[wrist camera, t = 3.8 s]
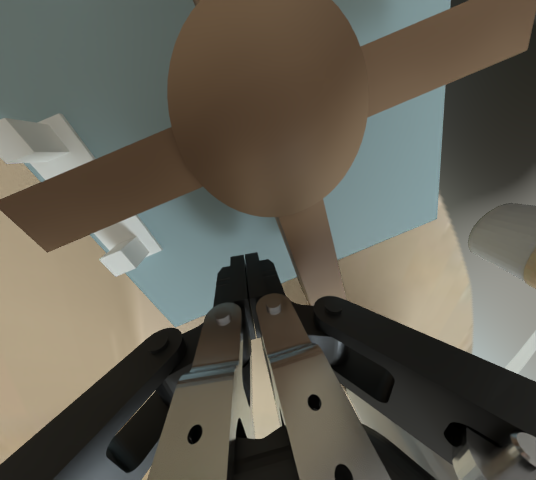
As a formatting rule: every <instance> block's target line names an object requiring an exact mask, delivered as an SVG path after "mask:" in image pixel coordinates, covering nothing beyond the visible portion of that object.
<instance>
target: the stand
mask: <svg viewBox="0 0 536 480" xmlns="http://www.w3.org/2000/svg"><path fill="white" fill-rule="evenodd" d="M332 1H333V2H334V3H335V4H336V5H337V6H338V7H339V8H340V10H341V11H342V13H343V14H344V15H345V17H346V18H347V20H348V21H349V23H350V25H351V27H352V29H353V30H354V32H355V34H356V36H357V39H358V42H359V44H360V46H363V45H365V44H368V43H370V42H372V41H375V40H377V39H379V38H382V37H384V36H386V35H389V34H391V33H393V32H396V31H398V30H401V29H403V28H405V27H408V26H410V25H412V24H415V23H417V22H419V21H422V20H424V19H426V18H429V17H431V16H433V15H436V14H438V13H441V12H443V11H445V10H448V9H450V2H451V0H332ZM194 8H195V5H194V2H193V0H0V158H1V159H2V160H3V161H4V162H5V163H6V164H16V163H24V164H25V165H26V166H27V167H28V169H29V170H30V171H31V172H32V173H33V174H34V175H35V176H36V177H37V178H38V179H39V180H40V182H43V181H45V180H47V179H50V178H52V177H55V176H57V175H59V174H62V173H64V172H66V171H69V170H71V169H73V168H76V167H78V166H80V165H83V164H85V163H87V162H90V161H92V160H95V159H97V158H99V157H102V156H104V155H106V154H109V153H111V152H113V151H116V150H118V149H120V148H123V147H125V146H127V145H130V144H132V143H135V142H137V141H139V140H142V139H144V138H146V137H149V136H151V135H153V134H156V133H158V132H160V131H163V130H165V129H167V128H170V127H171V122H170V117H169V110H168V100H167V81H168V73H169V65H170V60H171V56H172V52H173V49H174V45H175V42H176V40H177V38H178V35H179V33H180V31H181V28H182V26H183V24H184V23H185V21H186V19H187V18H188V16H189V15H190V13H191V11H192V10H193V9H194ZM444 97H445V85H444V86H441V87H439V88H437V89H434V90H432V91H429V92H427V93H425V94H422V95H420V96H418V97H415V98H413V99H410V100H408V101H406V102H403V103H401V104H399V105H396V106H394V107H391V108H389V109H387V110H384V111H382V112H380V113H377V114H375V115H372V116H370V117H368V118H367V123H366V128H365V132H364V136H363V140H362V143H361V145H360V148H359V151H358V153H357V155H356V157H355V159H354V161H353V163H352V165H351V167H350V169H349V170H348V172H347V173H346V175H345V176H344V178H343V179H342V180H341V181H340V183H339V184H338V185H337V186H336V187H335V188H334V189H333V190H332V191H331V192H330V193H329V194H328V195H327V196H326V197H324V198H323V200H324V205H325V209H326V213H327V217H328V222H329V226H330V230H331V235H332V239H333V243H334V247H335V252H336V256H337V260H339V259H341V258H344V257H346V256H349V255H351V254H353V253H356V252H358V251H361V250H363V249H365V248H368V247H370V246H373V245H375V244H377V243H380V242H382V241H385V240H387V239H390V238H392V237H394V236H397V235H399V234H402V233H404V232H406V231H409V230H411V229H414V228H416V227H419V226H421V225H423V224H426V223H428V222H431V221H433V220H435V219H437V210H438V194H439V178H440V162H441V146H442V129H443V115H444V99H445V98H444ZM90 236H91V237H92V238H93V239H94V240H95V241H96V242H97V243H98V244H99V245H100V246H101V248H102V249H103V250H104V251H105V252H106V254H105V255H104V256H102V257H101V258H100V259H99V260H100V261H101V262H102V263H103V264H104V265H105V266H106V267H107V269H108V270H109V271H110V272H111V273H112V274H113V275H114V276H115V277H116V276H119V275H121V274H124V273H125V274H126V275H127V276H128V277H129V278H130V279H131V280H132V281H133V282H134V283H135V284H136V285H137V287H138V288H139V289H140V290H141V291H142V292H143V293H144V294H145V295H146V296H147V297H148V298H149V299H150V301H151V302H152V303H153V304H154V305H155V306H156V307H157V308H158V309H159V310H160V311H161V312H162V314H163V315H164V316H165V317H166V318H167V319H168V320H169V321H170V322H171V323H172V324H173V325H174V327H177V326H180V325H182V324H184V323H187V322H189V321H192V320H194V319H196V318H199V317H201V316H204V315H206V314H207V313H208V312H209V311H210V310H211V309H212V308H213V304H214V296H215V289H216V281H217V274H218V272H219V271H220V270H221V268H222V267H227V266H230V257H232V256H238V255H244V259H245V254H249V253H255V252H258V257H259V261H260V260H266V259H269V260H270V261H271V262H273V263H274V266H275V268H276V271H277V274H278V277H279V279H280V282H281V283H283V282H286V281H288V280H291V279H293V278H295V277H297V275H296V272H295V269H294V267H293V264H292V261H291V259H290V256H289V253H288V251H287V248H286V246H285V243H284V240H283V238H282V235H281V232H280V230H279V227H278V224H277V222H276V219H275V217H259V216H253V215H249V214H246V213H242V212H239V211H237V210H235V209H233V208H231V207H229V206H227V205H225V204H224V203H222V202H220V201H219V200H218V199H216V198H215V197H214V196H213V195H211V194H210V193H209V192H208V191H207V190H206V189H205V188H204V187H201V188H199V189H197V190H194V191H192V192H190V193H187V194H185V195H182V196H180V197H178V198H175V199H173V200H171V201H168V202H166V203H163V204H161V205H159V206H156V207H154V208H152V209H149V210H147V211H144V212H142V213H140V214H137V215H135V216H133V217H130V218H128V219H125V220H123V221H121V222H118V223H116V224H114V225H111V226H109V227H106V228H104V229H102V230H99V231H97V232H95V233H92V234H90ZM245 264H246V262H245Z"/></svg>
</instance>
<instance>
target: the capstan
mask: <svg viewBox="0 0 536 480" xmlns="http://www.w3.org/2000/svg"><path fill="white" fill-rule="evenodd" d="M193 2H194V5H195V8H194V9H193V10H192V11H191V13H190V15H189V16H188V18H187V19H186V21H185V23H184V24H183V26H182V28H181V31H180V33H179V35H178V38H177V40H176V42H175V45H174V49H173V52H172V56H171V60H170V65H169V73H168V81H167V100H168V110H169V117H170V122H171V127H170V128H167V129H165V130H163V131H160V132H158V133H156V134H153V135H151V136H149V137H146V138H144V139H142V140H139V141H137V142H135V143H132V144H130V145H127V146H125V147H123V148H120V149H118V150H116V151H113V152H111V153H109V154H106V155H104V156H102V157H99V158H97V159H95V160H92V161H90V162H87V163H85V164H83V165H80V166H78V167H76V168H73V169H71V170H69V171H66V172H64V173H62V174H59V175H57V176H55V177H52V178H50V179H47V180H45V181H43V182H40V183H38V184H36V185H33V186H31V187H29V188H26V189H24V190H22V191H19V192H17V193H14V194H12V195H10V196H7V197H5V198H3V199H0V210H1V211H2V212H3V213H4V214H5V215H6V216H8V217H9V218H10V219H11V220H12V221H13V222H14V223H15V224H16V225H17V226H19V227H20V228H21V229H22V230H23V231H24V232H25V233H26V234H27V235H28V236H30V237H31V238H32V239H33V240H34V241H35V242H36V243H37V244H38V245H39V246H41V247H42V248H43V249H44V250H45V251H46V252H49V251H52V250H54V249H57V248H59V247H61V246H64V245H66V244H68V243H71V242H73V241H76V240H78V239H80V238H83V237H85V236H87V235H90V234H92V233H95V232H97V231H99V230H102V229H104V228H106V227H109V226H111V225H114V224H116V223H118V222H121V221H123V220H125V219H128V218H130V217H133V216H135V215H137V214H140V213H142V212H144V211H147V210H149V209H152V208H154V207H156V206H159V205H161V204H163V203H166V202H168V201H171V200H173V199H175V198H178V197H180V196H182V195H185V194H187V193H190V192H192V191H194V190H197V189H199V188H201V187H204V188H205V189H206V190H207V191H208V192H209V193H210V194H211V195H213V196H214V197H215V198H216V199H218V200H219V201H220V202H222V203H224V204H225V205H227V206H229V207H231V208H233V209H235V210H237V211H239V212H242V213H246V214H249V215H253V216H259V217H275V219H276V222H277V224H278V227H279V230H280V232H281V235H282V238H283V240H284V243H285V246H286V248H287V251H288V253H289V256H290V259H291V261H292V264H293V267H294V269H295V272H296V275H297V277H298V280H299V283H300V285H301V288H302V291H303V293H304V295H305V297H306V299H307V301H308V303H309V305H311V306H314V304H315V302H316V301H317V300H318V299H319V298H321V297H324V296H336V297H339V298H342V299H344V300H347V298H346V294H345V290H344V286H343V281H342V277H341V273H340V269H339V264H338V260H337V256H336V252H335V247H334V243H333V239H332V235H331V230H330V226H329V222H328V217H327V213H326V209H325V205H324V200H323V198H324V197H326V196H327V195H328V194H329V193H330V192H331V191H332V190H333V189H334V188H335V187H336V186H337V185H338V184H339V183H340V181H341V180H342V179H343V178H344V176H345V175H346V173H347V172H348V170H349V169H350V167H351V165H352V163H353V161H354V159H355V157H356V155H357V153H358V151H359V148H360V145H361V143H362V140H363V136H364V132H365V128H366V123H367V118H368V117H370V116H372V115H375V114H377V113H380V112H382V111H384V110H387V109H389V108H391V107H394V106H396V105H399V104H401V103H403V102H406V101H408V100H410V99H413V98H415V97H418V96H420V95H422V94H425V93H427V92H429V91H432V90H434V89H437V88H439V87H441V86H444V85H446V84H448V83H451V82H453V81H456V80H458V79H460V78H463V77H465V76H467V75H470V74H472V73H474V72H477V71H479V70H481V69H484V68H486V67H489V66H491V65H493V64H496V63H498V62H501V61H503V60H505V59H508V58H510V57H513V56H515V55H517V54H520V53H522V52H524V51H527V50H528V45H529V40H530V36H531V31H532V27H533V22H534V17H535V12H536V0H469V1H467V2H464V3H462V4H459V5H457V6H455V7H452V8H450V9H448V10H445V11H443V12H441V13H438V14H436V15H433V16H431V17H429V18H426V19H424V20H422V21H419V22H417V23H415V24H412V25H410V26H408V27H405V28H403V29H401V30H398V31H396V32H393V33H391V34H389V35H386V36H384V37H382V38H379V39H377V40H375V41H372V42H370V43H368V44H365V45H363V46H360V44H359V42H358V39H357V36H356V34H355V32H354V30H353V29H352V27H351V25H350V23H349V21H348V20H347V18H346V17H345V15H344V14H343V13H342V11H341V10H340V8H339V7H338V6H337V5H336V4H335V3H334V2H333V1H332V0H193Z"/></svg>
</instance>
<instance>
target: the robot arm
mask: <svg viewBox="0 0 536 480" xmlns="http://www.w3.org/2000/svg"><path fill="white" fill-rule="evenodd" d="M245 262H246V264H245ZM253 319H254V320H253ZM254 324H255V328H254ZM255 329H256V335H257V338H260V337H261V340H262V346H263V351H264V356H265V361H266V365H267V369H268V374H269V378H270V382H271V387H272V391H273V395H274V400H275V404H276V408H277V413H278V418H279V423H280V428H278V429H277V430H275V431H274V432H272V433H271V434H269V435H268V436H266V437H265V438H262V439H255V430H254V421H253V407H252V356H251V352H252V349H251V340H252V339H256V337H255ZM340 384H342V385H343V386H344V387H346V391H347V394H348V396H349V398H350V400H351V402H352V404H353V406H354V408H355V411H356V413H357V415H358V417H359V418H358V417H357V415H356V413H355V411H354V409H353V407H352V405H351V404H350V402H349V400H348V398H347V396H346V394H345V392H344V390H343V389H342V387H341V385H340ZM155 390H156V391H155ZM154 391H155V392H154ZM153 392H154V393H153ZM152 393H153V395H152ZM151 395H152V396H151ZM150 396H151V397H150ZM149 397H150V398H149ZM148 398H149V399H148ZM147 399H148V400H147ZM146 400H147V401H146ZM145 401H146V402H145ZM144 402H145V404H144V405H143V403H144ZM142 405H143V406H142ZM141 406H142V407H141ZM140 407H141V408H140ZM139 408H140V409H139ZM138 409H139V410H138ZM137 410H138V411H137ZM136 411H137V413H136V414H135V415H134V413H135V412H136ZM133 415H134V416H133ZM132 416H133V417H132ZM131 417H132V418H131ZM130 418H131V419H130ZM129 419H130V420H129ZM359 419H360V420H359ZM128 420H129V421H128ZM127 421H128V423H127V424H126V425H125V423H126V422H127ZM360 421H361V422H360ZM124 425H125V426H124ZM123 426H124V427H123ZM122 427H123V428H122ZM121 428H122V429H121ZM120 429H121V430H120ZM119 430H120V431H119ZM118 431H119V433H118V434H117V432H118ZM151 465H152V466H151ZM150 467H151V469H150V472H149V475H148V478H147V480H536V382H535V381H533V380H530V379H528V378H526V377H523V376H521V375H519V374H516V373H514V372H512V371H509V370H507V369H505V368H502V367H500V366H497V365H495V364H493V363H491V362H488V361H486V360H483V359H481V358H479V357H477V356H475V355H472V354H470V353H468V352H465V351H463V350H461V349H458V348H456V347H454V346H451V345H449V344H447V343H444V342H442V341H440V340H437V339H435V338H433V337H430V336H428V335H426V334H423V333H421V332H419V331H416V330H414V329H412V328H409V327H407V326H405V325H402V324H400V323H398V322H396V321H393V320H391V319H389V318H386V317H384V316H382V315H379V314H377V313H375V312H372V311H370V310H368V309H365V308H363V307H361V306H358V305H356V304H354V303H351V302H349V301H347V300H344V299H342V298H339V297H336V296H324V297H321V298H319V299H318V300H317V301H316V302H315V304H314V306H311V305H300V304H296V303H294V302H292V301H290V300H289V298H288V297H286V295H285V293H284V290H283V288H282V285H281V282H280V279H279V277H278V274H277V271H276V268H275V266H274V263H273V262H271V261H270V260H269V259H266V260H260V261H259V257H258V252H255V253H249V254H245V259H244V255H238V256H232V257H230V266H227V267H222V268H221V270H220V271H219V272H218V274H217V281H216V289H215V296H214V304H213V308H212V309H211V310H210V311H209V312H208V313H207V315H206V317H205V319H204V323H202V324H201V325H200V326H198V327H196V328H194V329H192V330H190V331H188V332H186V333H183V334H181V332H180V331H179V330H178V329H176V328H166V329H162V330H160V331H158V332H156V333H154V334H153V335H151V336H150V337H149V338H147V339H146V340H145V341H144V342H143V343H142V344H140V345H139V346H138V347H137V348H136V349H135V350H133V351H132V352H131V353H130V354H129V355H128V356H126V357H125V358H124V359H123V360H122V361H121V362H119V363H118V364H117V365H116V366H115V367H114V368H112V369H111V370H110V371H109V372H108V373H107V374H105V375H104V376H103V377H102V378H101V379H100V380H98V381H97V382H96V383H95V384H94V385H93V386H91V387H90V388H89V389H88V390H87V391H86V392H84V393H83V394H82V395H81V396H80V397H79V398H77V399H76V400H75V401H74V402H73V403H72V404H70V405H69V406H68V407H67V408H66V409H65V410H63V411H62V412H61V413H60V414H59V415H58V416H56V417H55V418H54V419H53V420H52V421H51V422H49V423H48V424H47V425H46V426H45V427H44V428H42V429H41V430H40V431H39V432H38V433H37V434H35V435H34V436H33V437H32V438H31V439H30V440H28V441H27V442H26V443H25V444H24V445H23V446H21V447H20V448H19V449H18V450H17V451H16V452H14V453H13V454H12V455H11V456H10V457H9V458H8V459H6V460H5V461H4V462H3V463H2V464H1V465H0V480H141V479H142V478H143V477H144V475H145V474H146V472H147V471H148V470H149V468H150Z"/></svg>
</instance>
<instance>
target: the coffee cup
mask: <svg viewBox="0 0 536 480" xmlns="http://www.w3.org/2000/svg"><path fill="white" fill-rule="evenodd" d="M468 245H469V249H470V251H471V252H472V253H473V254H475V255H477V256H479V257H481V258H483V259H484V260H486V261H488V262H490V263H492V264H494V265H496V266H498V267H499V268H501V269H503V270H505V271H507V272H509V273H511V274H513V275H514V276H516V277H518V278H520V279H522V280H524V281H525V282H526V283H527V284H528V285H529V286H531V287H533V288H535V289H536V206H531V205H522V204H512V203H509V204H504V205H501V206H498V207H496V208H495V209H493V210H491V211H490V212H488V213H487V214H485V215H484V216H483V217H482V218H481V219H480V220H479V221H478V222H477V223H476V225H475V226H474V228H473V229H472V231H471V233H470V236H469V240H468Z"/></svg>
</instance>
